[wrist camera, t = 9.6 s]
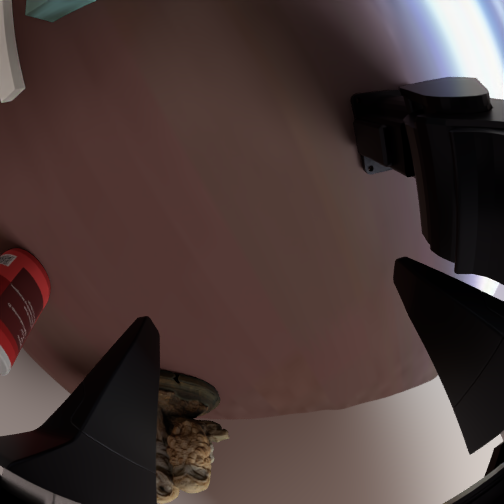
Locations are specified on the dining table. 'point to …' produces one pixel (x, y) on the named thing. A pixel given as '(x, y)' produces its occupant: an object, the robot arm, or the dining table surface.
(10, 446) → the robot arm
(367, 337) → the dining table surface
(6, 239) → the dining table surface
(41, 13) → the T block
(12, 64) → the outline
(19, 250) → the red tapered cylinder
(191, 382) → the khaki lumpy piece
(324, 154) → the dining table surface
